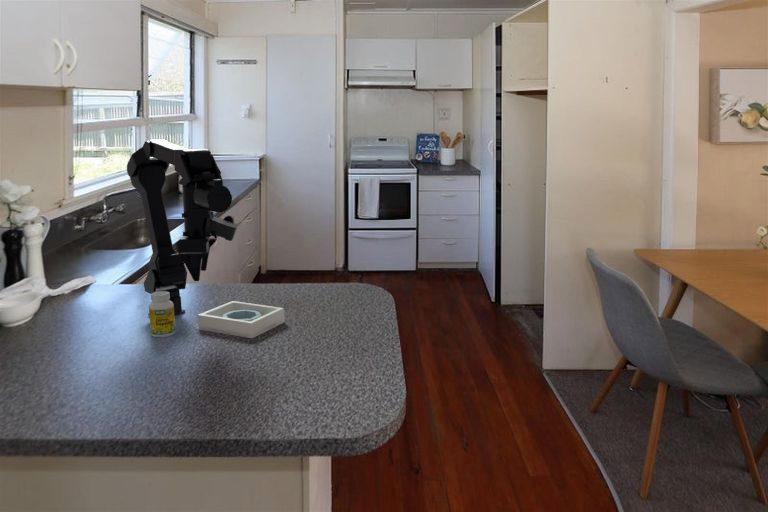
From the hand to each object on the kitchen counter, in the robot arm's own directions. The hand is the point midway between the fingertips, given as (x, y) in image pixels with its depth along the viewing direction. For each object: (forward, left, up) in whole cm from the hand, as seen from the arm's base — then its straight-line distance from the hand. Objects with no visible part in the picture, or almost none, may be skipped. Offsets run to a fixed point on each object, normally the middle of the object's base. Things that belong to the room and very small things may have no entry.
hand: (200, 275), depth 147 cm
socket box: (+5, +7, -13) cm, 16 cm away
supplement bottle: (-7, -5, -14) cm, 16 cm away
